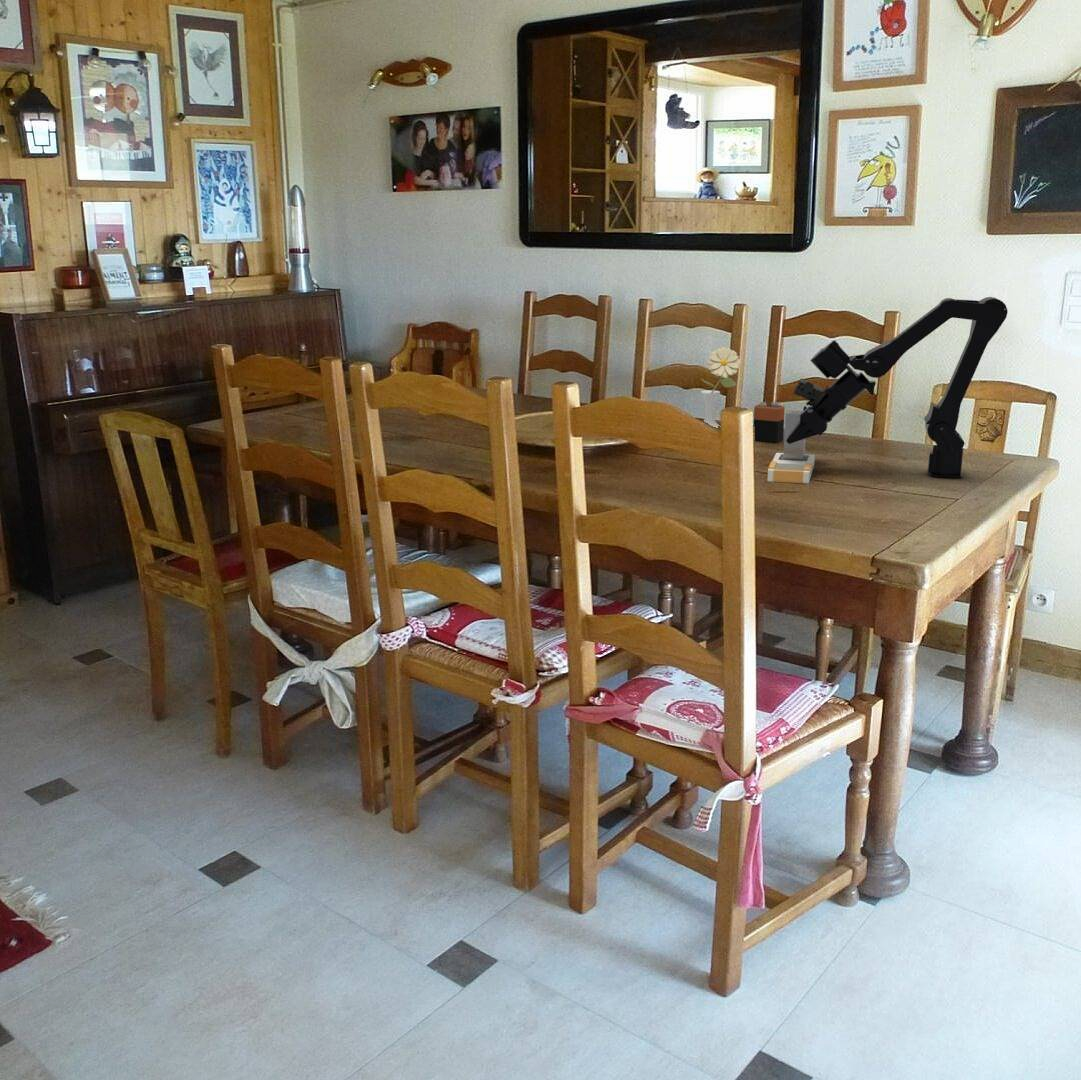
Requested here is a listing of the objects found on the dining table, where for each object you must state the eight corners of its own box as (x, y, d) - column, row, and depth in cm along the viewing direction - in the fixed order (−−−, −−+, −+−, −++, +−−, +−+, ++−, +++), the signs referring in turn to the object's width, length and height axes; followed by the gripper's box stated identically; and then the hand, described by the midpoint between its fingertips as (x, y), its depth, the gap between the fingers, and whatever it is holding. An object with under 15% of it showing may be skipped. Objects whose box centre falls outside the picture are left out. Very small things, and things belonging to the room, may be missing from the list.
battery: (776, 443, 274) (778, 404, 272) (752, 440, 278) (753, 402, 276) (783, 440, 278) (785, 402, 275) (759, 438, 282) (761, 400, 279)
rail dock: (814, 465, 250) (814, 452, 249) (808, 483, 233) (809, 470, 232) (775, 463, 252) (776, 451, 252) (767, 481, 235) (767, 468, 234)
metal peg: (803, 466, 248) (806, 411, 245) (802, 470, 244) (805, 414, 241) (784, 465, 250) (787, 410, 246) (782, 469, 246) (785, 413, 242)
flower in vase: (681, 448, 270) (683, 348, 263) (692, 440, 280) (694, 343, 273) (732, 452, 265) (736, 350, 258) (742, 443, 275) (745, 345, 268)
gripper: (819, 361, 248) (768, 407, 254) (813, 372, 231) (759, 421, 237) (852, 396, 248) (801, 441, 254) (849, 410, 231) (794, 458, 237)
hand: (788, 439), depth 246 cm, fingers open, 6 cm apart
